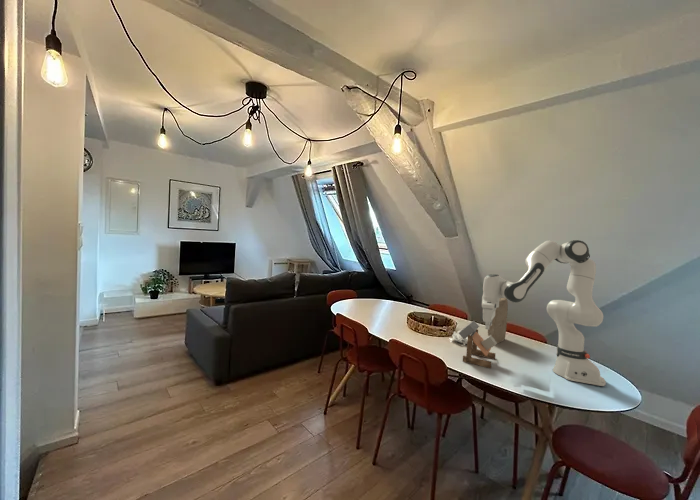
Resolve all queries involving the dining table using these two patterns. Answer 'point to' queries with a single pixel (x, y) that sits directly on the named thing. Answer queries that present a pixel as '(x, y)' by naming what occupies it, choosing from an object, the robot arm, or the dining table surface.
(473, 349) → the frame
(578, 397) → the dining table surface
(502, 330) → the stone tablet
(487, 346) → the stone
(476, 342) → the hammer
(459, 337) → the lotus flower
